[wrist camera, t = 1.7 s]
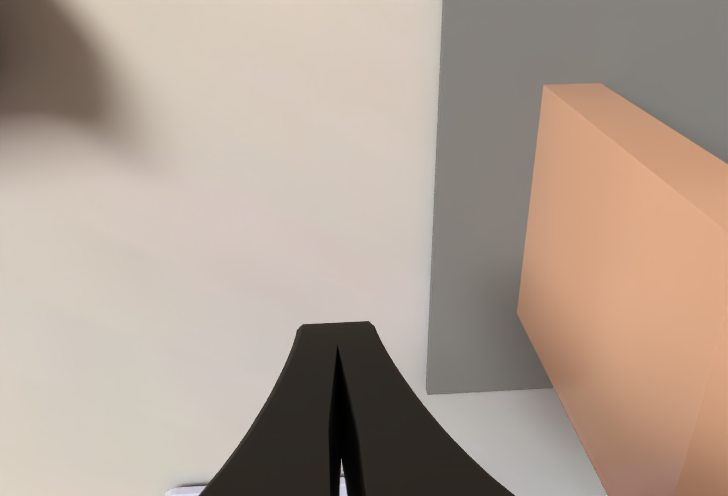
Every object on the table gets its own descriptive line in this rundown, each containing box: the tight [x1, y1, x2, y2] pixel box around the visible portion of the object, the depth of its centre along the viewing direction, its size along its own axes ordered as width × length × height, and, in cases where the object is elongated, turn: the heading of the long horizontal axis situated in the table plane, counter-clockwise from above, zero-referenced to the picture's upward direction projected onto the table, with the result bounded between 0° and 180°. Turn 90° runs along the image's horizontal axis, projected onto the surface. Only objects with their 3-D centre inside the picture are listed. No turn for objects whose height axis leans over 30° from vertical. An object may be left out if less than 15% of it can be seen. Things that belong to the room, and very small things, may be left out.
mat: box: [426, 0, 728, 395], centre depth 19 cm, size 13×14×1 cm
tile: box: [517, 83, 728, 496], centre depth 15 cm, size 7×2×9 cm, turn 1°
